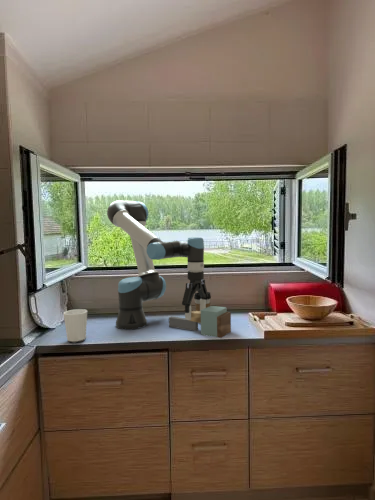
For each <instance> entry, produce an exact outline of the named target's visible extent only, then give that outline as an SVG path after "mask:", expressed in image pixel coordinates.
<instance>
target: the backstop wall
mask: <svg viewBox="0 0 375 500" xmlns="http://www.w3.org/2000/svg"><path fill="white" fill-rule="evenodd" d="M231 313H232V312H230V311H227V312H225V313H223V314H221V315H220V316H218V317H217V337H216V338H220V339H222V338H224V337H225V336H227V335H228V334H230V333H231V332H232V314H231Z"/></svg>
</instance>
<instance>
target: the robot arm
mask: <svg viewBox="0 0 375 500" xmlns="http://www.w3.org/2000/svg"><path fill="white" fill-rule="evenodd" d="M106 216H107V218H108V220H109V221H110V223H111V224H112V225H113V226H114V227H117V228H120V229H121V230H123V231H124V232H125V233H126V234H127V235H129V237H130V242H131V246H132V250H133V254H134V259H135V263H136V266H137V267H136V268H137V272H138V273H137V276H130V277H126V278H123V279H121V280H120V281H118V285H117V287H118V288H117V292H118V295H117V296H118V314H117V316H116V320H115V327H116V328H117V329H120V330H137V329H142V328H144V327H146V326H147V323H148V320H147V318H146V315H145V311H144V309H143V308H144V307H143V305H144V304H143V303H144V302H148V301H153V300H157V299H160V298H162V297H163V296H164V294H165V293H166V290H167V283H166V280H165V278H163V276H161V275H160V273H159V271H158V270H156V269H155V265H154V262H153V261H154V260H164V259H173V258H174V259H175V258H187V269H186V270H187V280H189V282H187V283H185V289H184V293H183V298H182V301H181V305H182V306H184V318H185V319H186V320H191V311H192V305H191V303H192V300H193V298H194V295H195V293H199V295H200V297H201V299H200V311H201V310H203V309H205V308H206V299H208V293H207V292H208V290H207V286H206V280H205V277H204V276H205V272H204V270H205V264H204V263H205V260H204V259H205V258H204V255H205V243H204V238H203V237H199V236H198V237H193V236H192V237H187V241H182V240H171V241H162V239H160V238H159V237H157V236H156V235H155V234H154V233H152V232H151V231H150V230H149V229H147V228H146V227H145V226H146V224H147V221H148V218H149V210H148V207H147V206H146V204H145V203H144V202H142V201H137V200H121V199H120V200H118V199H117V200H114V201H113V202H111V203H110V204H109V205H108V207H107V210H106Z"/></svg>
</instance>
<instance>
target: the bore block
mask: <svg viewBox="0 0 375 500" xmlns="http://www.w3.org/2000/svg"><path fill="white" fill-rule="evenodd" d="M227 310H228V309H227V307H226V306H216V305H210V306H209V307H207V308H205V309H203V310H201V324H200V335H202V336H206V335H207V336H208V337H212V338H213V337H214V338H218V337H217V317H218V316H220V315H221V314H223V313H225V312H228V311H227Z"/></svg>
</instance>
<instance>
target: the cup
mask: <svg viewBox="0 0 375 500" xmlns="http://www.w3.org/2000/svg"><path fill="white" fill-rule="evenodd" d="M63 320H64V325H65V331H66V332H65V333H66V339H67V342H68V343H73V344H77V342H80V343H83V342H84V341H85V340H86V338H87V324H88V322H87V321H88V310H87V309H84V308H83V309H82V308H77V309H76V308H75V309H69V310H66V311H64V312H63Z"/></svg>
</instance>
